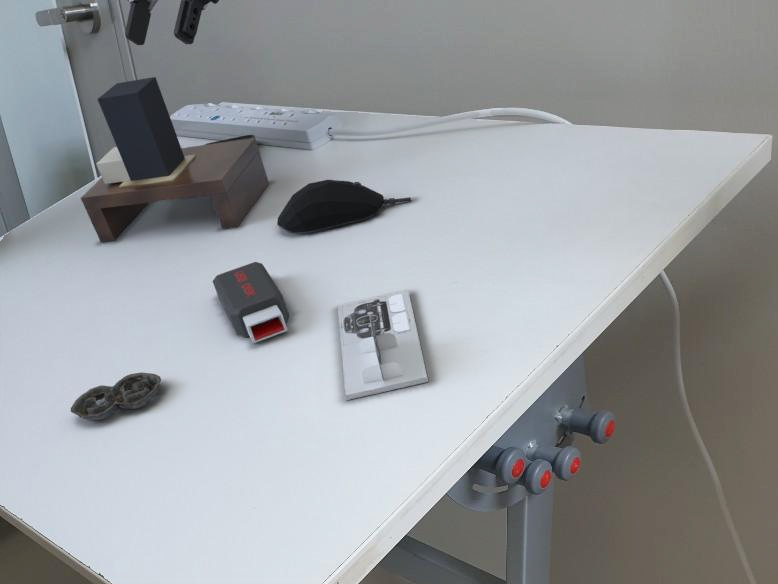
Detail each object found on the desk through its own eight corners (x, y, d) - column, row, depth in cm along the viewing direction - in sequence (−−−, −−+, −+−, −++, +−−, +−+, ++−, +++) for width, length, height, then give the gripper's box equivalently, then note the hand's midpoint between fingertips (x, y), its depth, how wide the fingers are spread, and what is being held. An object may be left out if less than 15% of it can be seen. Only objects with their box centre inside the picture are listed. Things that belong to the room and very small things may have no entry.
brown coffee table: (100, 242, 104) (79, 196, 100) (140, 199, 112) (122, 154, 109) (237, 227, 99) (220, 177, 95) (269, 183, 107) (254, 135, 104)
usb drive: (267, 279, 88) (258, 254, 86) (298, 329, 79) (289, 302, 77) (218, 297, 87) (208, 272, 85) (244, 349, 78) (234, 322, 76)
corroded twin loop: (74, 404, 77) (68, 395, 76) (160, 373, 78) (156, 363, 77) (77, 433, 73) (71, 423, 72) (168, 400, 74) (163, 390, 73)
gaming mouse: (413, 212, 93) (405, 175, 90) (278, 241, 94) (267, 205, 91) (409, 189, 97) (402, 153, 95) (281, 218, 99) (271, 183, 96)
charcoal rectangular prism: (185, 158, 103) (155, 76, 97) (169, 176, 99) (137, 92, 93) (122, 167, 105) (89, 87, 99) (104, 184, 102) (69, 103, 95)
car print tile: (428, 381, 69) (417, 331, 66) (346, 400, 69) (332, 351, 66) (409, 293, 80) (399, 247, 77) (338, 310, 80) (326, 265, 77)
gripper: (124, -127, 95) (91, 24, 97) (211, -145, 88) (173, 21, 90) (177, -83, 102) (144, 59, 104) (262, -96, 94) (225, 58, 96)
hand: (157, 41), depth 97 cm, fingers open, 8 cm apart
